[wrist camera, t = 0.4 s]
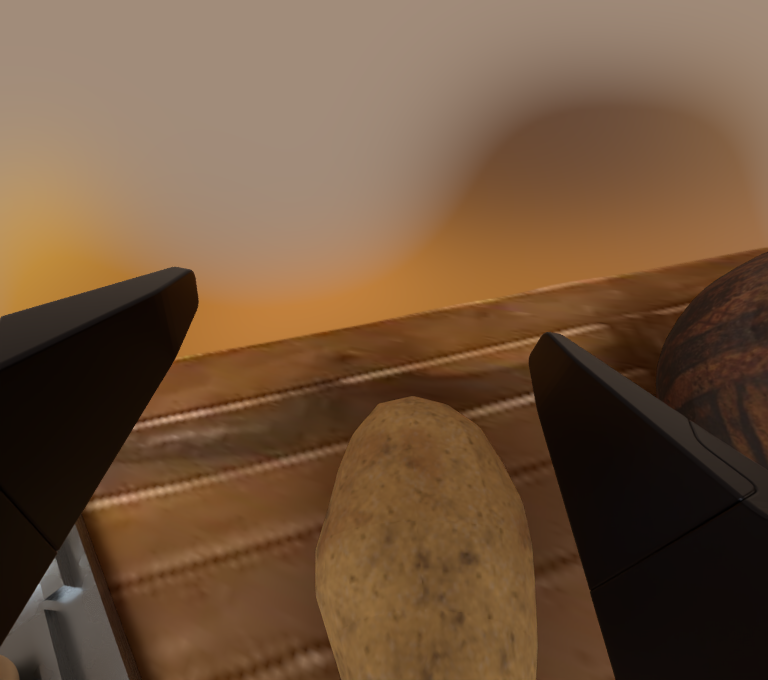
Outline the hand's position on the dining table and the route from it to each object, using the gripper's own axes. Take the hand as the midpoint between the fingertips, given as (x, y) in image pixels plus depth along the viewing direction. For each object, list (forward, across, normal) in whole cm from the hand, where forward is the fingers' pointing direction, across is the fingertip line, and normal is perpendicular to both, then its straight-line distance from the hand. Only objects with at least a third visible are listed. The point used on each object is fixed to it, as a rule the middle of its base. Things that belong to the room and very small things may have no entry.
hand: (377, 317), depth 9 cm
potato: (0, -5, +16) cm, 16 cm away
